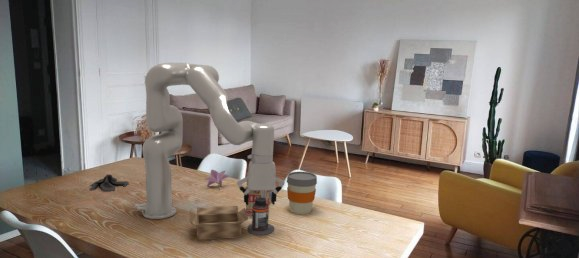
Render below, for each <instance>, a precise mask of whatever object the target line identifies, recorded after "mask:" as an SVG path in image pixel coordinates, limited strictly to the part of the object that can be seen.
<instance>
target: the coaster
mask: <svg viewBox="0 0 579 258" xmlns="http://www.w3.org/2000/svg"><path fill="white" fill-rule="evenodd" d="M246 230H247V232H248V233H249V234H251V235H254V236H267V235H270V234H273V233H274V232H275V226H274V225H273V224H271V223H268V228H267V229H266V230H263V231H257V230H254V229H253V228H252V223H251V224H249V225H248V226H247V229H246Z"/></svg>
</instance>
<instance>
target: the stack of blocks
mask: <svg viewBox="0 0 579 258" xmlns="http://www.w3.org/2000/svg"><path fill="white" fill-rule="evenodd" d="M272 192H273V191H272V190H263V191H252V190H250V191H249V193H248V194H249V202H248V205H246V204H245V210H246V213H247V216H248V217H252V210H253V209H252V207H253V204H255V199H256V198H258V197H263V198H266V204H268V206H269V204H271V203H272V202H271V196H272Z"/></svg>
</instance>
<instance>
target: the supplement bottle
mask: <svg viewBox="0 0 579 258" xmlns="http://www.w3.org/2000/svg"><path fill="white" fill-rule="evenodd" d="M252 209H253V210H252V216H251V217H252V218H251V219H252V221H251V224H252V228H253V229H254V230H257V231H263V230H266V229H267V228H268V224H269V213H270V212H269V211H270V209H269V205H268V204H266V198H263V197H258V198H256V199H255V204H253V207H252Z"/></svg>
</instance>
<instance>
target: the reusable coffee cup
mask: <svg viewBox="0 0 579 258" xmlns="http://www.w3.org/2000/svg"><path fill="white" fill-rule="evenodd" d="M317 179H318V178H317V175H316V174H315V173H314V172H308V171H293V172H290V173H288V174H287V177H286V184H287V189H286V192H287V200H288V201H289V203H288V204H289V211H290V212H291V213H292V214H297V215H307V214H310V213H311V212H312V208H313V202H314V201H315V196H316V191H317V189H316V186H317V184H318V180H317Z"/></svg>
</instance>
